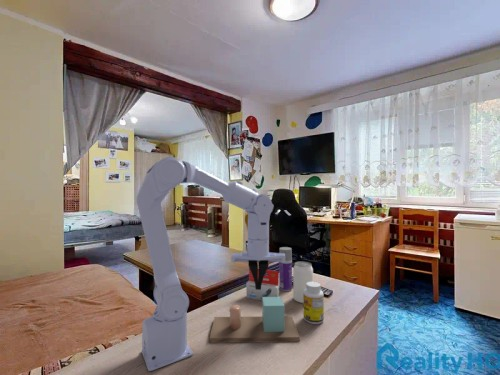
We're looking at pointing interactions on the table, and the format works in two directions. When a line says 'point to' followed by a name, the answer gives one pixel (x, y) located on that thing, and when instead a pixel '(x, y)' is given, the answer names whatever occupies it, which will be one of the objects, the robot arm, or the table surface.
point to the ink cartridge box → (263, 285)
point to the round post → (235, 317)
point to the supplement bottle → (313, 303)
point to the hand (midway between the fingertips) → (258, 288)
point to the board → (251, 331)
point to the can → (301, 279)
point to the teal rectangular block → (273, 314)
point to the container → (285, 270)
